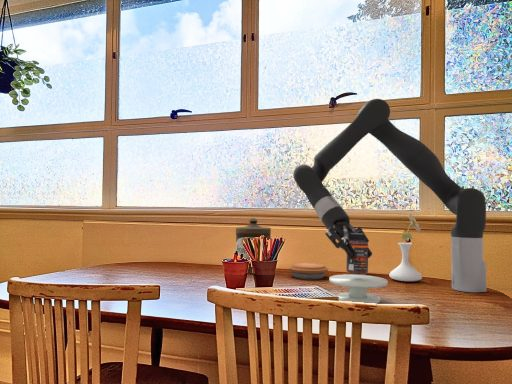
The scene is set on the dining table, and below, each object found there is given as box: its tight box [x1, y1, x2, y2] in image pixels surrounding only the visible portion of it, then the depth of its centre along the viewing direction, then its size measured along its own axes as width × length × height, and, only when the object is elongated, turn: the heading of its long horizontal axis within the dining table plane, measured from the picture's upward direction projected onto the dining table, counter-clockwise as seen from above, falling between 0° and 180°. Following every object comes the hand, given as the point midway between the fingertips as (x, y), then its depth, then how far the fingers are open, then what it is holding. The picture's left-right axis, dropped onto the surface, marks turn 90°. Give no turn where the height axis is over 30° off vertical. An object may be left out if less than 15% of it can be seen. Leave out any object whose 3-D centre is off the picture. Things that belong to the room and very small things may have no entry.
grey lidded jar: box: [235, 217, 272, 275], centre depth 161 cm, size 15×15×22 cm
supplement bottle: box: [346, 233, 369, 275], centre depth 111 cm, size 6×6×11 cm
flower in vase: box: [388, 212, 423, 283], centre depth 144 cm, size 13×11×25 cm
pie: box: [287, 262, 330, 280], centre depth 149 cm, size 15×16×5 cm
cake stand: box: [328, 273, 389, 304], centre depth 110 cm, size 16×16×6 cm
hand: (362, 256), depth 109 cm, fingers closed on supplement bottle, 6 cm apart
